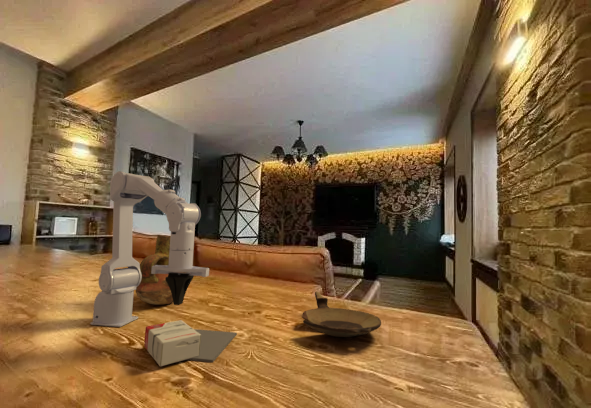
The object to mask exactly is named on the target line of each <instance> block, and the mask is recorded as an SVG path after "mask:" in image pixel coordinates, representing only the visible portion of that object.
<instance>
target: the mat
mask: <svg viewBox="0 0 591 408" xmlns="http://www.w3.org/2000/svg"><path fill="white" fill-rule="evenodd" d="M193 329H194V330H195V331H197V332H198V333H199V334H201V343H200V352H199V356H196V357H193V358H189V359H186V360H185V361H195V362H196V361H197V362H204V363H205V362H206V363H214V362H215V361H216V360H217V358H218V357H219V356H220V355H221V354H222V353H223V351H225V349H227V348H226V347H228V346H229V344H230V343H231V342H232V341H233V340H234V338H235V337H236V336H237V335H238V334H237V332H233V331H221V330H209V329H198V328H197V329H196V328H193Z"/></svg>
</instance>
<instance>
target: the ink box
mask: <svg viewBox="0 0 591 408" xmlns="http://www.w3.org/2000/svg"><path fill="white" fill-rule="evenodd" d="M194 329H195V328H193V327H191V326H190V325H189V324H187V323H186V322H185V321H183V320H182V319H180V320H175V321H169V322H164V323H158V324H153V325H151V324H150V325H147V326H145V331H144V332H145V333H144V344H143V345H144V348H145V349H146V351H147V352H148V353H149V354H150V356H151V357H152V358H153V360H155V362H156V364H158V366H159V367H164V366H167V365H170V364H174V363H178V362H181V361H187V360H186V359H189V358H193V357H196V356H199V352H200V343H201V334H199V333H198V332H197V331H195V330H194Z"/></svg>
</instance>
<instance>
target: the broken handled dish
mask: <svg viewBox="0 0 591 408" xmlns="http://www.w3.org/2000/svg"><path fill="white" fill-rule="evenodd" d="M314 296H315V301H316V306H317V308H312V309H308V310H304V311H303V312H302V315H301V318H302V319H303V320H302V323H303V324H305V326H308V327H309V328H311V329H313V330H315V331H317V332H319V333H322V334H324V335H327V336H332V337H339V338H344V337H345V338H349V337H350V338H351V337H357V336H361V335H363V336H364V335H366V334H369V333H371V332H374V331H376V330H377V329H379V328H380V327H381V326H382V320H381V318H380V317H378V316H377V315H376V316H375V315H374V314H372V313H368V312H366V311H365V312H364V311H360V310H353V309H347V308H339V307H338V308H337V307H329V306H328V298H327V297H323V295H322V294H321V293H320V292H319V291H318V290H316V291H315V292H314Z"/></svg>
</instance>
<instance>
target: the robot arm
mask: <svg viewBox="0 0 591 408" xmlns="http://www.w3.org/2000/svg"><path fill="white" fill-rule="evenodd" d="M109 187H110V188H109V189H110V190H109V196H110V197H109V200H111V201H112V202H113V209H112V210H113V211H112V213H113V215H112V216H113V217H112V220H113V221H112V222H113V223H112V246H111V247H112V251H111V252H112V253H111V256H112V257H111V258H109V260H107V261H106V262H105V263H103V265H101V267H100V268H101V269H100V273H99V275H98V276H99V277H98V286H99V289H100V290H101V291H99V292H98V293H97V295H96V297H95V299H94V301H93V302H94V303H93V315H92V321H90V323H89V325H92V326H104V327H105V326H106V327H116V328H117V327H118V328H121V327H124V326H126V325H127V324H129V323H132V322H133V321H135V320H137V319H139V316H136V315H133V306H134V305H133V304H134V293H135V291H136V287H137V286H138V285H139V284H140V282H141V279H142V274H141V271H140V264H141V262H139V261H138V260H136V259H135V258H134V257H133V226H134V225H133V224H134V221H133V220H134V218H133V217H134V216H133V215H134V207H135V205H136V204H138V203H141V202H142V201H143V200H144V199H146V198H147V197H150V198H151V199H152V200H153V203H154V206H155V207H156V208H157V209H159V210H160V211H161V212H163V214H165V215H166V220H167V222H168V230H169V232H170V236H171V237H170V251H169V265H155V266H152V271H151V274H156V273H158V274H168V277H166V282H167V284H168V285H169V288H170V290H171V293H172V298H173V302H172V303H173V305H174V306H180V305H182V304H183V303H184V299H185V297H186V293H187V291H188V288H189V287H190V286H189V285H190V284H191V283H192V281H193V279H194V276H195V277H201V278H202V277H203V278H207V277H209V276H210V268H209V267H204V266H203V267H201V266H195V265H194V247H195V231H196V229H195V228H196V225H197V224H198V223H199V221H200V219H201V217H202V213H201V209H200V207H199V206H198V205H197V203H194V202H191V203H188V202H187V201H186V199H185V198H184V197H180V196H179V195H177V194H176V191H175V190H174V189H163V188H161V187H160V186H159V185H158V184H157V183H156V182H155V179H154V178H152V177H150V176H148V175H140V174H136V173H135V174H133V173H131V172H130V173H129V172H124V171H121V170H120V171H119V170H118V171H116V172H115V174H114V173H113V176H112V178H111V179H110V186H109ZM182 272H186V273H182Z"/></svg>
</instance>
